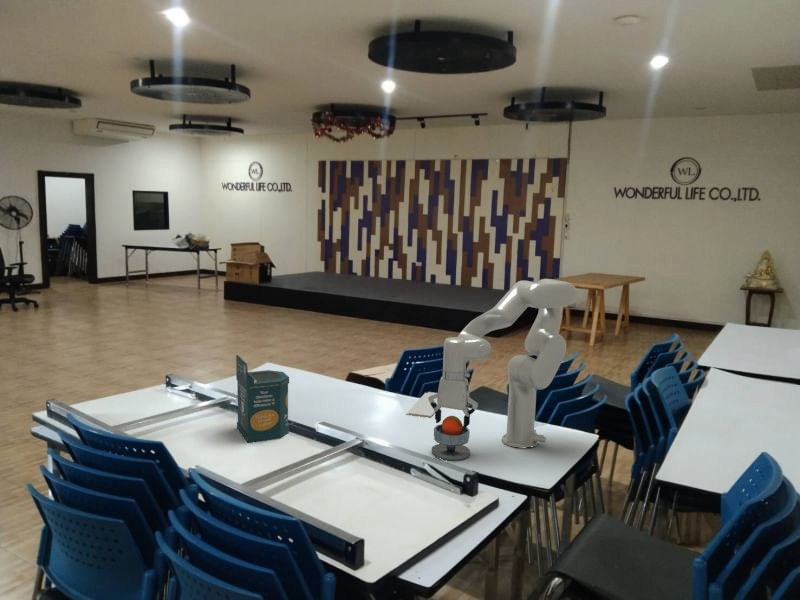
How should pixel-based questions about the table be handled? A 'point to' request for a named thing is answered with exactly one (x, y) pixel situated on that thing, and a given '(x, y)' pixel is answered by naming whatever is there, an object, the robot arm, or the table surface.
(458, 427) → the clementine
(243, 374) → the donation box
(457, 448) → the stand
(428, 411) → the baseboard molding
